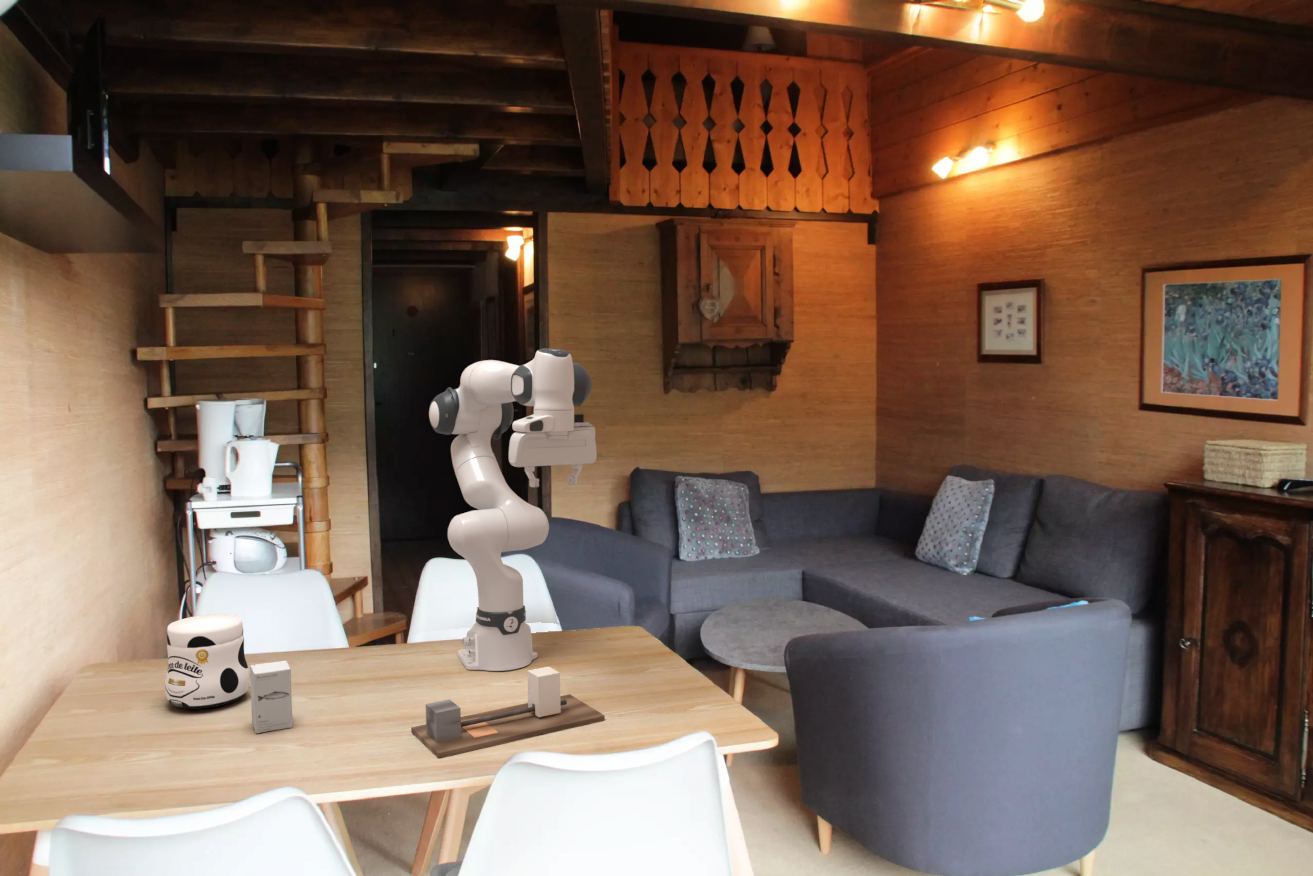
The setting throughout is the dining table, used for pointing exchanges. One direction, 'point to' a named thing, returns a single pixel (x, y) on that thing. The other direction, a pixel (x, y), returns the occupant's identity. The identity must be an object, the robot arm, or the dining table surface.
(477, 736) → the wooden slider track base
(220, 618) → the milk container
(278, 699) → the supplement box
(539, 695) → the cream sliding block
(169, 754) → the dining table surface
